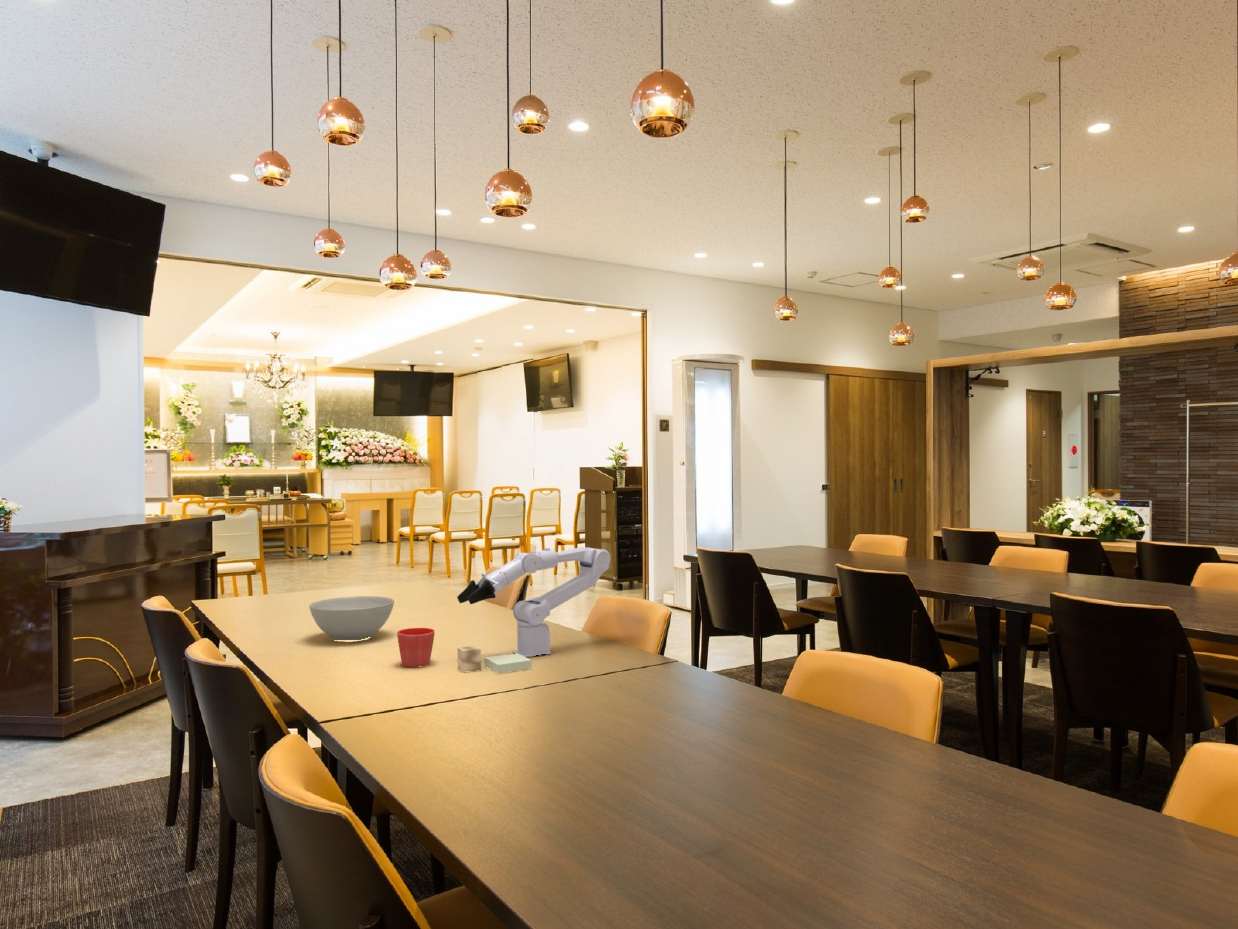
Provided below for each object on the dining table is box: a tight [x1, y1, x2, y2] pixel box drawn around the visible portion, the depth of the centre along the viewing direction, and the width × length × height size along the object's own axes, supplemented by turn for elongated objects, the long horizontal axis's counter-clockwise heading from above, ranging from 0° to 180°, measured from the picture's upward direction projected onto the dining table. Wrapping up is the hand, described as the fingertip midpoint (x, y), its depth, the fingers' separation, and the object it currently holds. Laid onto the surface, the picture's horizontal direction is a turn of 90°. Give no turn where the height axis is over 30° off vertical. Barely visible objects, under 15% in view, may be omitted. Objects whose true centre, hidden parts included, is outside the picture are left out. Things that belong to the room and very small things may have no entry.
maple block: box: [457, 645, 482, 673], centre depth 229 cm, size 5×5×6 cm
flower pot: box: [396, 627, 435, 668], centre depth 235 cm, size 11×11×10 cm
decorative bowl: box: [309, 595, 395, 640], centre depth 271 cm, size 27×27×12 cm
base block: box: [484, 653, 532, 674], centre depth 230 cm, size 10×10×3 cm
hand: (463, 600), depth 234 cm, fingers open, 7 cm apart
